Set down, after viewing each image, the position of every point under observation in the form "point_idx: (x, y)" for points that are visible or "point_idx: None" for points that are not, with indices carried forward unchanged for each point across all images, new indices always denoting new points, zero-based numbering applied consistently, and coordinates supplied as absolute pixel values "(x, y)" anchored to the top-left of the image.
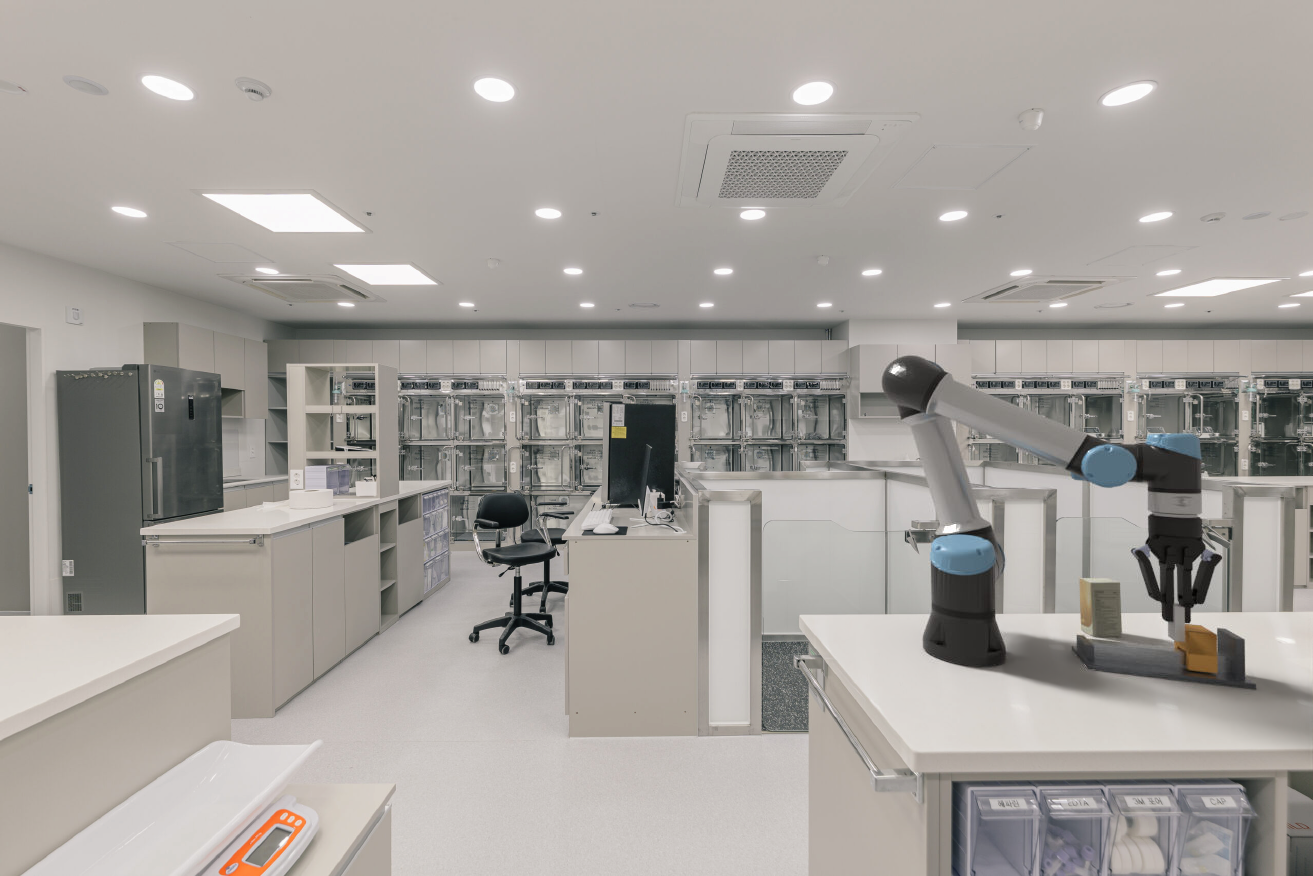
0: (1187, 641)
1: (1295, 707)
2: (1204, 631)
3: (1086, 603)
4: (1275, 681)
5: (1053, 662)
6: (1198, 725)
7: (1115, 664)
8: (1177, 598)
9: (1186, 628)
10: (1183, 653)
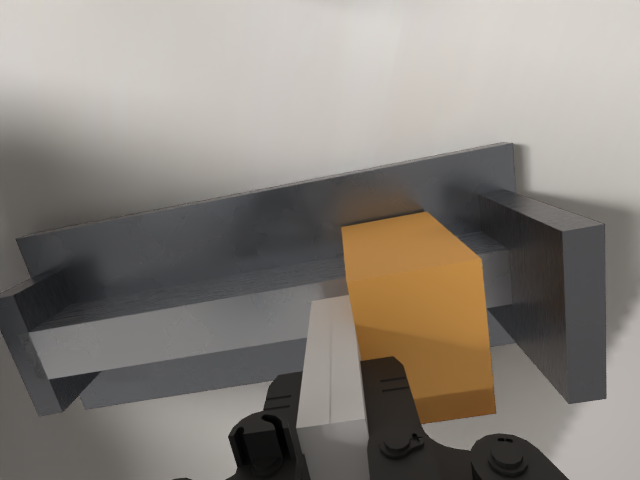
0: None
1: (559, 419)
2: (456, 382)
3: None
4: (618, 212)
5: (2, 386)
6: None
7: (156, 373)
8: (368, 460)
9: None
10: None
